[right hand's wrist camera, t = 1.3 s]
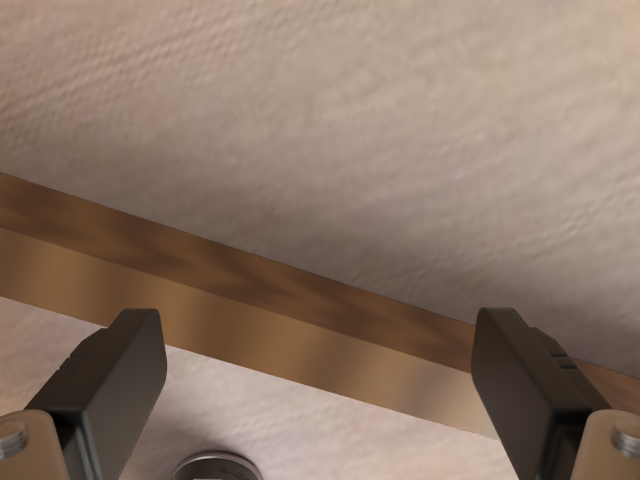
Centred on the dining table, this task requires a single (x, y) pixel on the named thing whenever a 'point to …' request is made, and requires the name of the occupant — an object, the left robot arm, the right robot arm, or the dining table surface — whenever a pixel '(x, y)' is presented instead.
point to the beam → (248, 308)
